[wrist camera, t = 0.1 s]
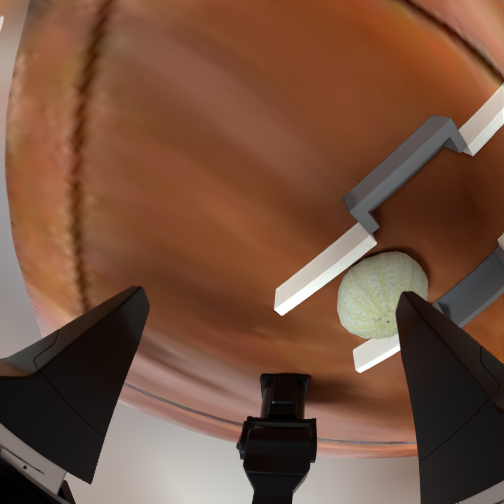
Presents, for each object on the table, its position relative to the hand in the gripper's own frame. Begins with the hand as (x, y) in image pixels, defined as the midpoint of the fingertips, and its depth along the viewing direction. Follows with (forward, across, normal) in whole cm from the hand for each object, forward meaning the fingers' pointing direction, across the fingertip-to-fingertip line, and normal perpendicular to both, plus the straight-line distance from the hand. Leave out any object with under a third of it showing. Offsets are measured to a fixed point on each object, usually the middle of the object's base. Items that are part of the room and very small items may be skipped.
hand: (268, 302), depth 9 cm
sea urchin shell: (+15, -9, +10) cm, 20 cm away
